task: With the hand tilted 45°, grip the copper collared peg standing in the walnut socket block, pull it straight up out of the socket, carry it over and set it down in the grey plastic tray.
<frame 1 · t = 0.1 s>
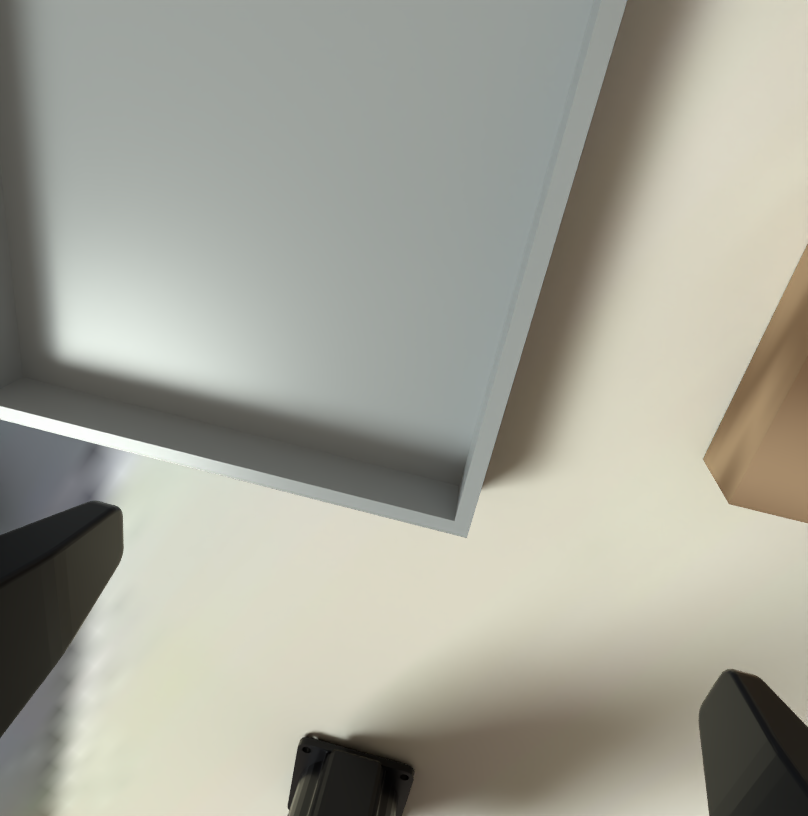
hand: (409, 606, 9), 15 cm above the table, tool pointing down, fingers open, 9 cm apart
tray: (264, 130, 20), on the table
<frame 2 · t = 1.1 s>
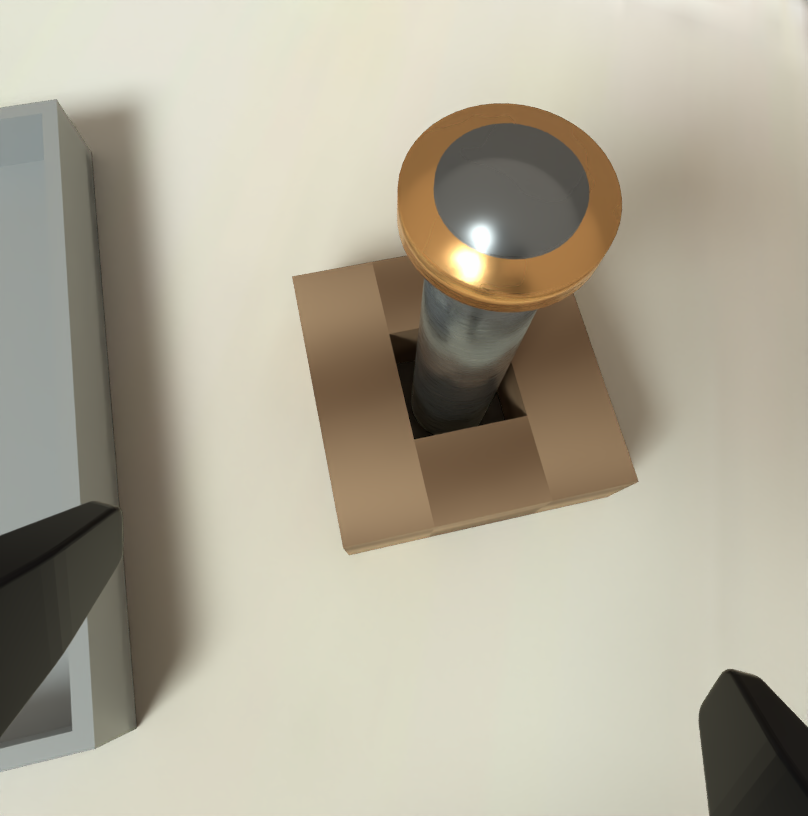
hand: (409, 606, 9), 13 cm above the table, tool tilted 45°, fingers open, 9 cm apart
copper collared peg: (469, 331, 18), in the socket block
socket block: (448, 401, 24), on the table
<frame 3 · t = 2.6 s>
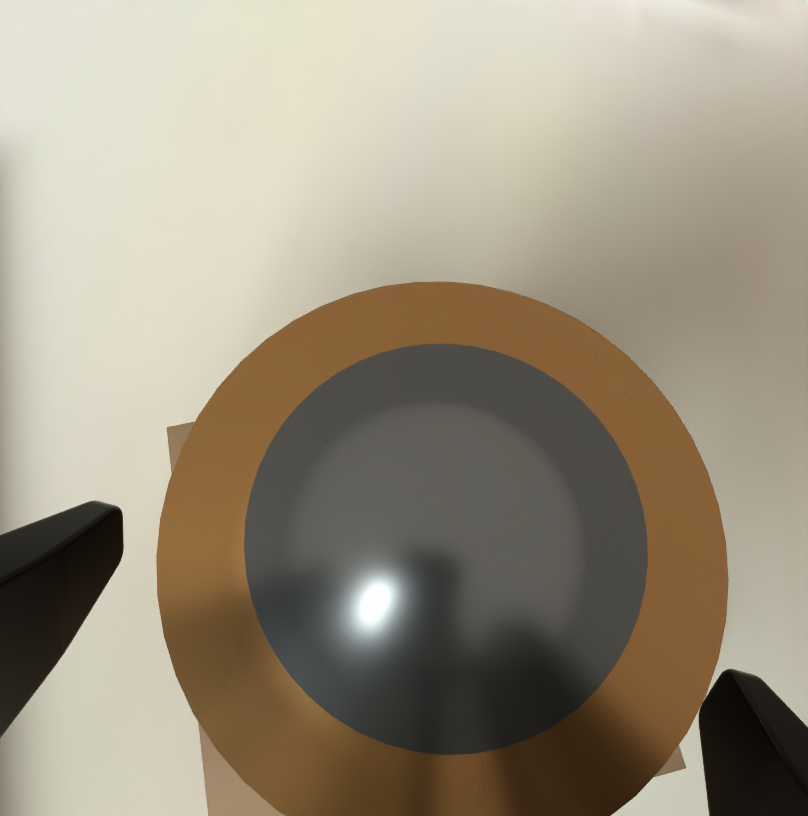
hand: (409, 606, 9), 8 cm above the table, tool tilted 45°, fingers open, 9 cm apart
copper collared peg: (412, 576, 11), in the socket block
socket block: (403, 589, 17), on the table
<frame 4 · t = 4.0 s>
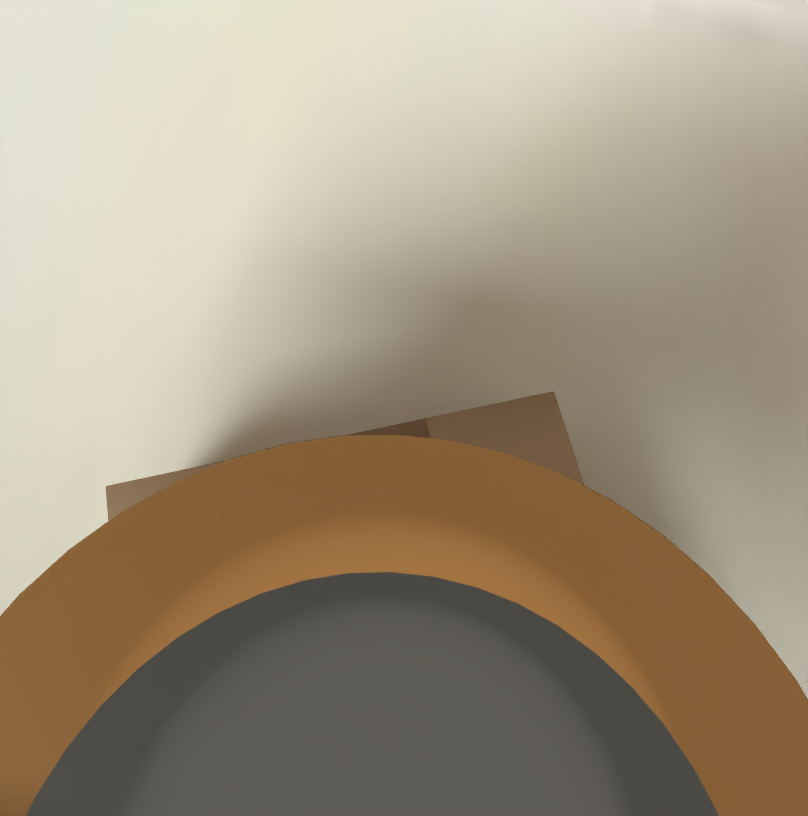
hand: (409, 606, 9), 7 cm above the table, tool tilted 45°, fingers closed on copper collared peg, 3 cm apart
copper collared peg: (384, 707, 8), in the socket block, touching gripper
socket block: (386, 664, 15), on the table
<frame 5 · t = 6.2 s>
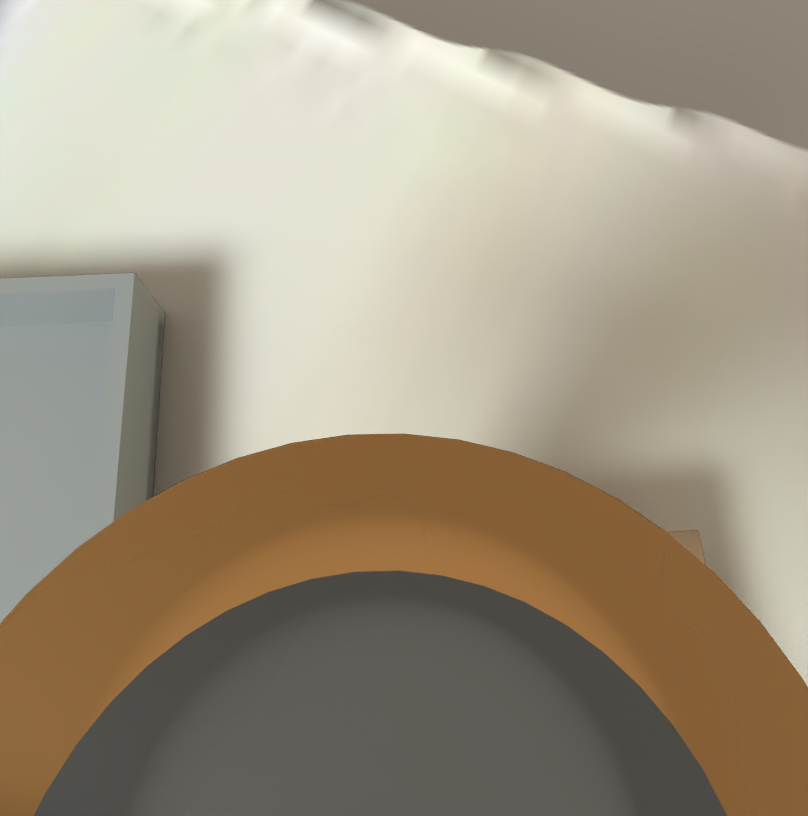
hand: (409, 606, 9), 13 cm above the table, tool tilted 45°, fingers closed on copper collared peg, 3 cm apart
copper collared peg: (387, 706, 8), point 12 cm above the table, touching gripper
socket block: (538, 703, 20), on the table
when the fingers open (9 cm above the table, at t = 8.4 s): copper collared peg drops 1 cm, resting on tray.
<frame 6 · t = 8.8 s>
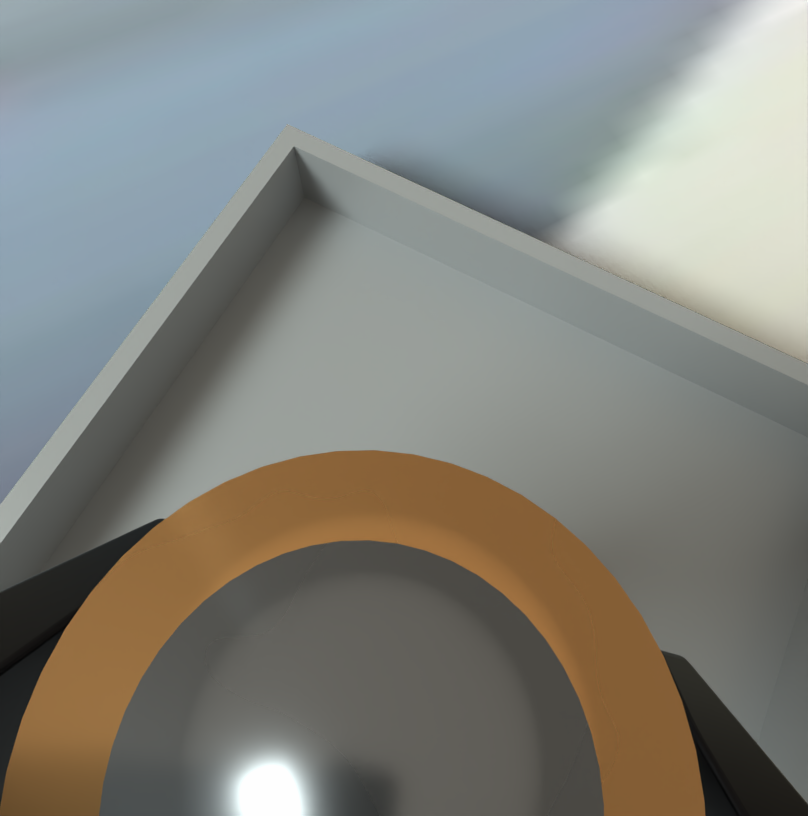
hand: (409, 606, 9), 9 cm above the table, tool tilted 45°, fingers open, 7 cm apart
copper collared peg: (379, 690, 10), in the tray, point 7 cm above the table
tray: (386, 657, 16), on the table
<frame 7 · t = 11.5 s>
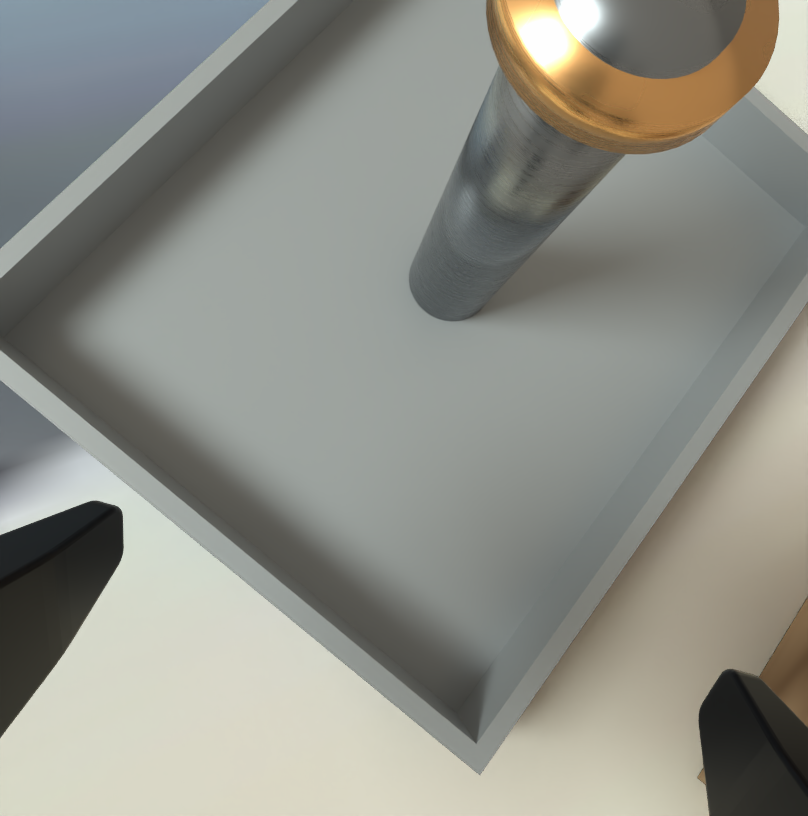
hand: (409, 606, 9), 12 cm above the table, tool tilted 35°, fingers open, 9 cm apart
copper collared peg: (508, 192, 15), in the tray, point 7 cm above the table
tray: (448, 281, 22), on the table
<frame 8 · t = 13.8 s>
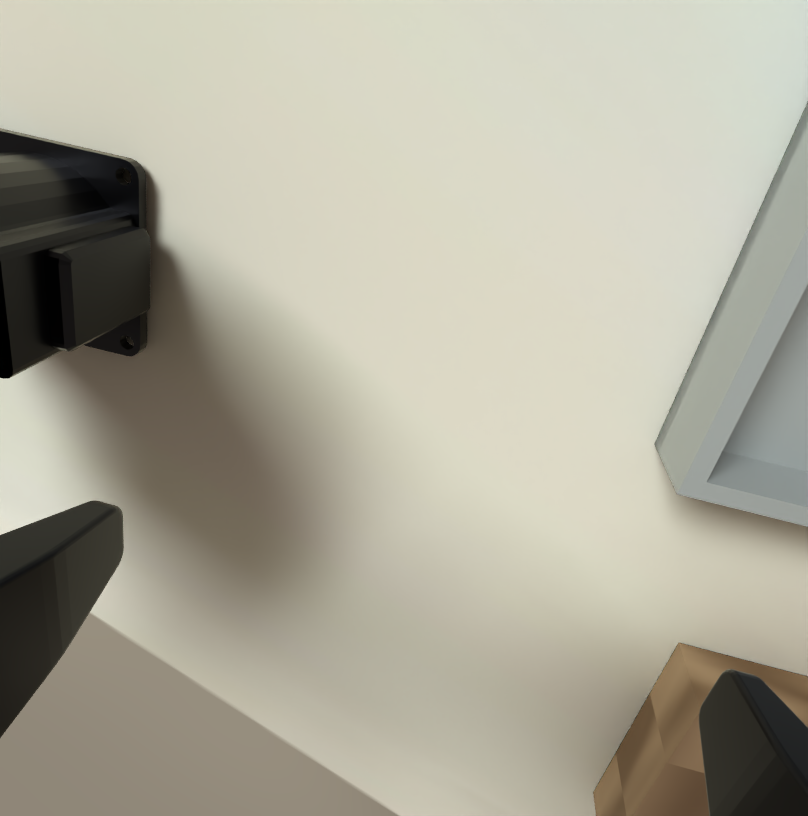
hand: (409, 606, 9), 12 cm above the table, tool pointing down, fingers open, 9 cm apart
socket block: (749, 756, 25), on the table
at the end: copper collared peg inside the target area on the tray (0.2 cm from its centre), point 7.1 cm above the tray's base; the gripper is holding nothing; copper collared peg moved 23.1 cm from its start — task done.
